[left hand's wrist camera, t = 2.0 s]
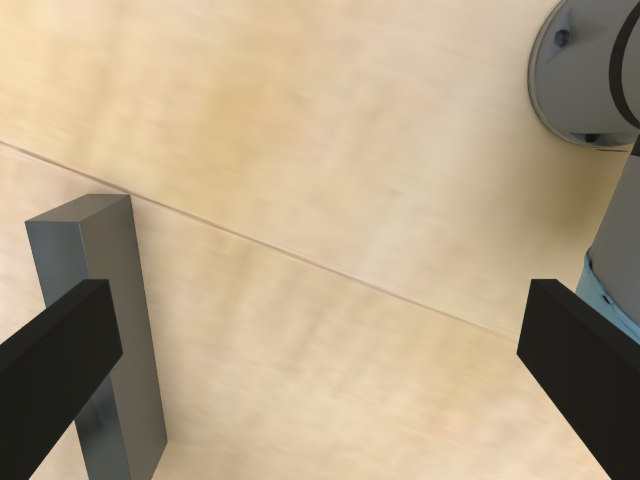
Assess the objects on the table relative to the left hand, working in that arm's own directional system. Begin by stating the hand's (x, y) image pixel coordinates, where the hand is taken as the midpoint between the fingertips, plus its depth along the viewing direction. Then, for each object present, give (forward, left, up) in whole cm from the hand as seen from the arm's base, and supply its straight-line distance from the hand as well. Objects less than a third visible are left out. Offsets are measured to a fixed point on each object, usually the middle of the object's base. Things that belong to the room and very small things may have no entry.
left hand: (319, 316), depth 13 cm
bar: (+29, +7, -30) cm, 42 cm away
